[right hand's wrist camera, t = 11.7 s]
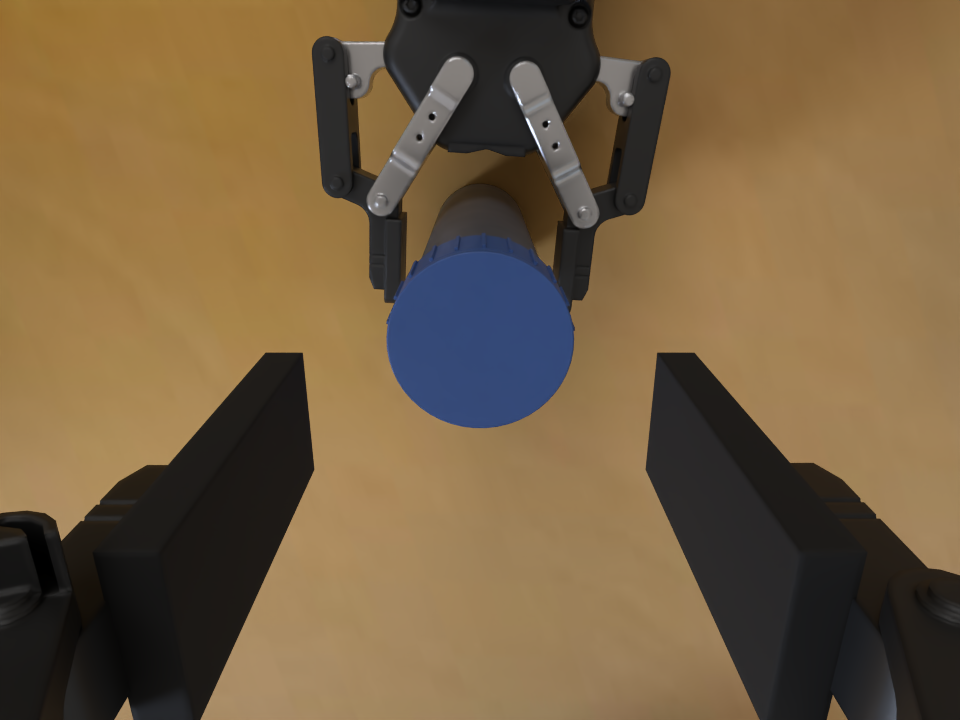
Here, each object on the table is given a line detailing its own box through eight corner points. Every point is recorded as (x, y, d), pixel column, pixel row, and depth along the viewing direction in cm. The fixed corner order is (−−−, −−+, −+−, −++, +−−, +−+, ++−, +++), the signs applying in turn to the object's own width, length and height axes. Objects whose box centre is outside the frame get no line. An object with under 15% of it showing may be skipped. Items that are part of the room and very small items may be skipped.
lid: (516, 422, 22) (520, 458, 19) (366, 353, 21) (353, 383, 19) (598, 281, 20) (612, 303, 18) (439, 201, 19) (433, 213, 17)
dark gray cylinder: (498, 285, 36) (514, 438, 20) (422, 247, 36) (371, 373, 19) (539, 208, 35) (593, 303, 18) (460, 167, 34) (441, 227, 17)
